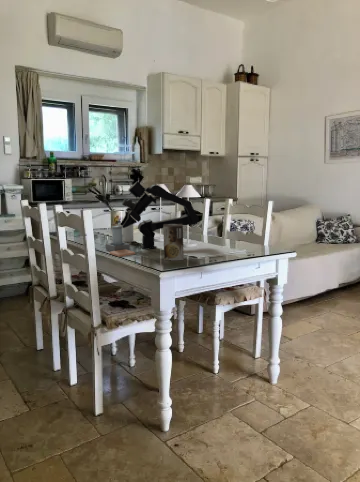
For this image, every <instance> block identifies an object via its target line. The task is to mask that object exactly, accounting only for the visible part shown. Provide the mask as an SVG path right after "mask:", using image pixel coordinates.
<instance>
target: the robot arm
mask: <svg viewBox="0 0 360 482" xmlns="http://www.w3.org/2000/svg"><path fill="white" fill-rule="evenodd" d="M128 192H129V193H131V195H133V196H134V197H135V198H136V199H137V198H138V200H137V201H134V202H133V200H132V199H130V198H128V199H126V198H123V201H122V203H121V205H122V206H124V207H126V208H125V211H124V214H125V215H124V217H123V219H121V220H122V222H120V223H121V225H123V226H122V227H123V228H125V227H128V226H130V225H132V224H133V225H134V224H137V223H138V226H137V229H138V231H139V232H140V233H141V234H142V239H141V240H142V244H141V245H140V247H139V248H141V249H146V250H150V249H154V248H155V249H156V248H157V247H158V246H157V245H155V235H156V232H155V231H157V230H162V229H163V225H164V224H182V225H183V226H184V225H185V226H190V225H191V226H196V225H197V224H198V223H199V222H200V217H199V215H198V214H197V213H196V210H195V209H194V206H193V204H192V202H191V200H188V199H185V198H184V197H180V196H178V195H176V194H174V193H171V192H169V191H167V190H166V189H164V188H163V187H162V186H160V185H158V184H152V185H150V186H149V187H144V186H143V185H142V184H141V183H140V182H139V181H138V180H137V181H136V182H135V183H133V184H132V185H130V187H129V188H128ZM157 198H161V199H165V200H168V201H170V202H173V203H175V204H177V205H180V206H182V207H183V209H184V210H183V211H184V213H185V214H183V215H182V216H179V217H175V218H174V217H173V218H168V219H163V220H159V221H153V220H152V219H151V218H150V219H149V218H148V219H147V220H142V216H141V215H142V214H143V212H145V211H147V209H148V207H149V206H150V205H152V203H153V204H155V205H156V204H157ZM141 220H142V221H141Z"/></svg>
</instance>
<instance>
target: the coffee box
mask: <svg viewBox="0 0 360 482" xmlns="http://www.w3.org/2000/svg"><path fill="white" fill-rule="evenodd" d="M162 229H163V260H171V261H184V259H185V258H184V225H182V224H164V225H163V228H162Z"/></svg>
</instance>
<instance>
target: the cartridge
mask: <svg viewBox="0 0 360 482" xmlns="http://www.w3.org/2000/svg"><path fill="white" fill-rule="evenodd" d="M111 233H112V236H111V237H112V238H111V239H112V243H113V245H114V246H118V245H123V240H122V226H118V225H114V226H113V225H112V226H111Z"/></svg>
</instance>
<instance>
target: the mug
mask: <svg viewBox="0 0 360 482" xmlns="http://www.w3.org/2000/svg"><path fill="white" fill-rule="evenodd" d="M122 220H123V219H121V222H122ZM121 222H118V223H117V226H123V225H121ZM134 236H135V235H134V224H132V225H130V226H128V227H125V228H123V227H122V242H124V243H132V242H133V241H134Z"/></svg>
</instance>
